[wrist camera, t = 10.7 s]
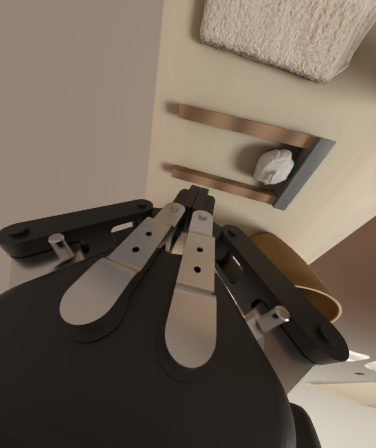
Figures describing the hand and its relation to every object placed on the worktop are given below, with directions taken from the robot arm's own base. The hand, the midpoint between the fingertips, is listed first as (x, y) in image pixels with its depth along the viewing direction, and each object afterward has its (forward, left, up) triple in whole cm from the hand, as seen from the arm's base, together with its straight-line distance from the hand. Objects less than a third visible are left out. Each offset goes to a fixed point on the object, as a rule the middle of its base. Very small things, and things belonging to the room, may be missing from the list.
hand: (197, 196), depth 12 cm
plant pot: (-18, +17, -18) cm, 31 cm away
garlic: (-10, -1, -18) cm, 20 cm away
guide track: (-4, 0, -18) cm, 18 cm away
